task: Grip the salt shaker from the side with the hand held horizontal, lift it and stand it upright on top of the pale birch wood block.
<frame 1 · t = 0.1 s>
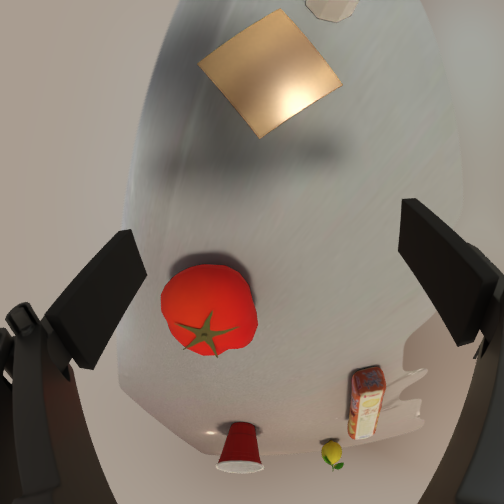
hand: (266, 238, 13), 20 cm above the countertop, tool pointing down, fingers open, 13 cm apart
lemon: (331, 440, 64), on the countertop
tomato: (218, 284, 39), on the countertop
snack package: (361, 394, 51), on the countertop
wood block: (270, 76, 26), on the countertop
plastic cup: (243, 426, 60), on the countertop
salt shaker: (328, 3, 21), on the countertop
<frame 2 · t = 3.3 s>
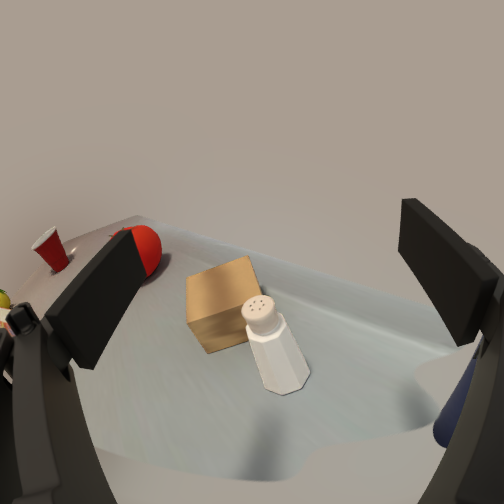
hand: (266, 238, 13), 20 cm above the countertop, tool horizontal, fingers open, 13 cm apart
lemon: (9, 310, 65), on the countertop
tomato: (144, 274, 56), on the countertop
snack package: (21, 333, 52), on the countertop
wood block: (235, 318, 38), on the countertop
plastic cup: (62, 267, 76), on the countertop
salt shaker: (286, 375, 29), on the countertop
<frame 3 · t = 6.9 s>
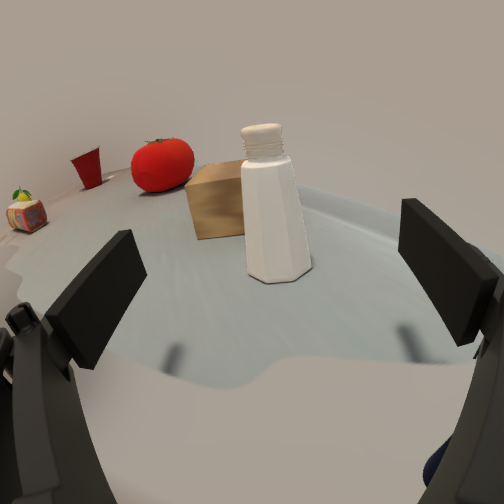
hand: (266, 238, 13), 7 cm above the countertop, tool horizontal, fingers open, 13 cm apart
lemon: (28, 214, 71), on the countertop
tomato: (168, 188, 54), on the countertop
snack package: (29, 227, 55), on the countertop
wood block: (243, 217, 33), on the countertop
plastic cup: (93, 187, 79), on the countertop
salt shaker: (279, 267, 23), on the countertop
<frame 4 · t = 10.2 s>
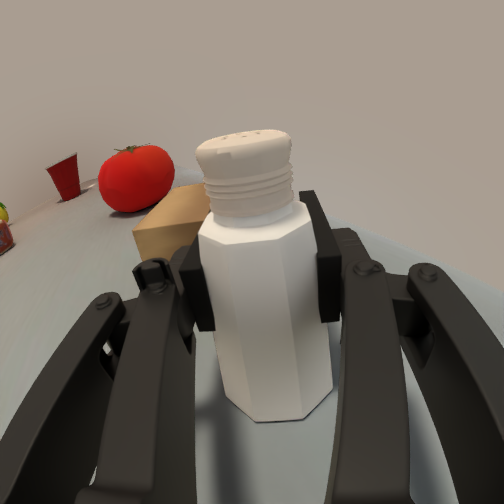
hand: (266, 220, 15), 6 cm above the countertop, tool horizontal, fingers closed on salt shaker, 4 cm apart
lemon: (4, 229, 61), on the countertop
tomato: (143, 207, 44), on the countertop
wood block: (227, 267, 23), on the countertop
plastic cup: (71, 198, 69), on the countertop
salt shaker: (279, 381, 13), on the countertop, touching gripper
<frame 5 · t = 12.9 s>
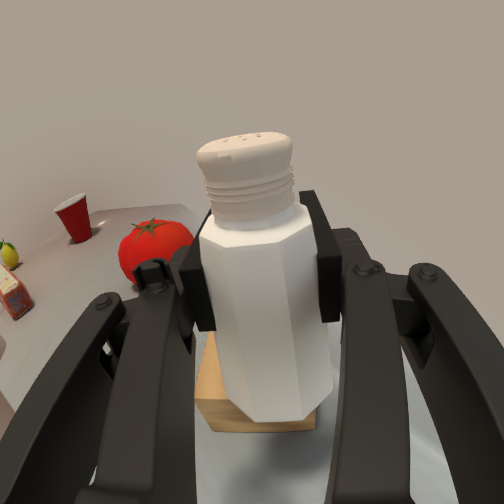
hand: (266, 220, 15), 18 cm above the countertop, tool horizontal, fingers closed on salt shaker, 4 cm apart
lemon: (15, 268, 63), on the countertop
tomato: (165, 281, 46), on the countertop
snack package: (15, 300, 46), on the countertop
wood block: (264, 392, 25), on the countertop
plastic cup: (82, 239, 71), on the countertop
salt shaker: (279, 382, 13), point 12 cm above the countertop, touching gripper
when the fingers open (12 cm above the countertop, at t = 15.8 s): salt shaker stays where it is, resting on wood block.
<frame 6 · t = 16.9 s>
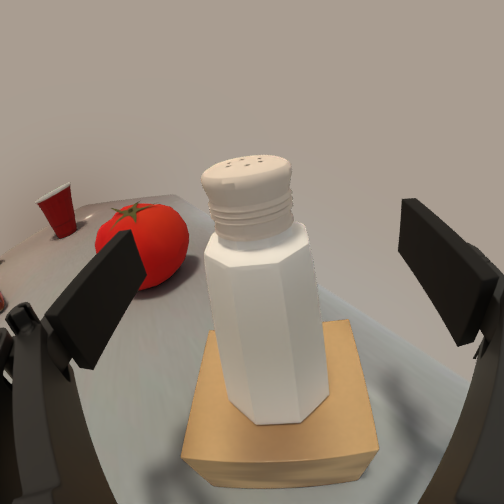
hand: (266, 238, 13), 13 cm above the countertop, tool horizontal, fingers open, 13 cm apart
tomato: (153, 278, 37), on the countertop
wood block: (285, 430, 17), on the countertop
plastic cup: (67, 234, 62), on the countertop
salt shaker: (279, 386, 14), point 6 cm above the countertop, touching wood block
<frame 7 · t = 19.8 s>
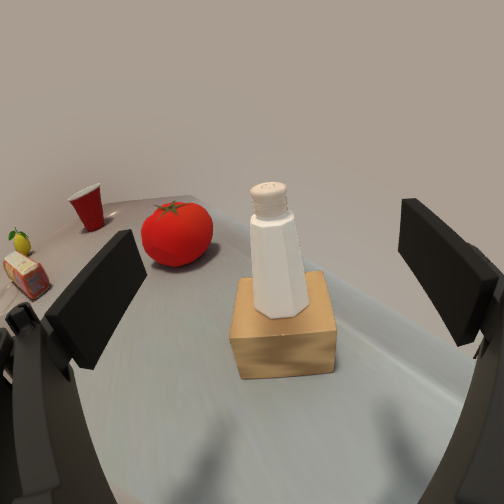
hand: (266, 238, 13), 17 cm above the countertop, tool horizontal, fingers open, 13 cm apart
lemon: (26, 257, 67), on the countertop
tomato: (184, 259, 50), on the countertop
snack package: (30, 284, 50), on the countertop
wood block: (286, 343, 30), on the countertop
plastic cup: (95, 228, 75), on the countertop
salt shaker: (282, 302, 27), point 6 cm above the countertop, touching wood block
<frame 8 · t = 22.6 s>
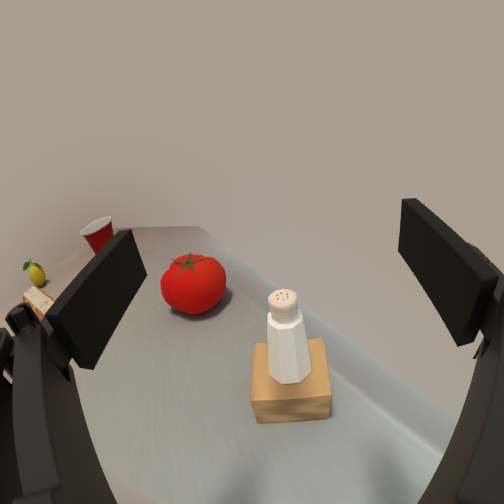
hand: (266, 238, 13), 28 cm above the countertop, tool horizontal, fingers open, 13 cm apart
lemon: (42, 286, 72), on the countertop
tomato: (200, 305, 55), on the countertop
snack package: (52, 320, 56), on the countertop
wood block: (292, 393, 35), on the countertop
plastic cup: (108, 259, 81), on the countertop
salt shaker: (290, 368, 32), point 6 cm above the countertop, touching wood block
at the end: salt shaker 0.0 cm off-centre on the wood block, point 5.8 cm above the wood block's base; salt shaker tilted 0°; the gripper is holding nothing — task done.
